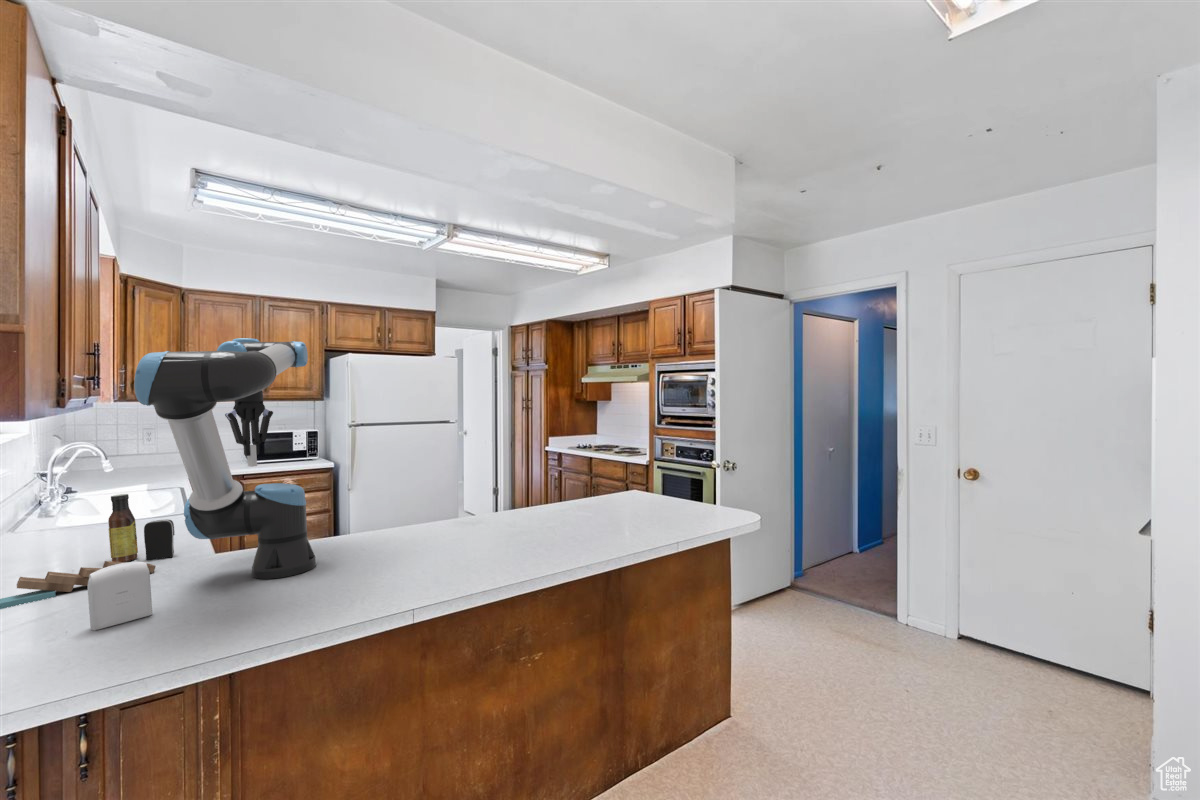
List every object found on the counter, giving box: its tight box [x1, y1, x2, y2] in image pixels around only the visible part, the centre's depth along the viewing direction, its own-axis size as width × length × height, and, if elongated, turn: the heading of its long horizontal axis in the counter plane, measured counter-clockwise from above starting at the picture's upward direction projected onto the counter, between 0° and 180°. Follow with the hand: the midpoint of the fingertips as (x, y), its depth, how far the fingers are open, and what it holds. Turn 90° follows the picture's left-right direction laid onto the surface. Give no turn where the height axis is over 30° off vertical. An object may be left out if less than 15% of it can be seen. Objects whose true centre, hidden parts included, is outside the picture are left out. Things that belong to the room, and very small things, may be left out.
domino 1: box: [0, 590, 57, 610], centre depth 136 cm, size 5×2×10 cm
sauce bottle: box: [107, 493, 139, 562], centre depth 169 cm, size 7×6×20 cm
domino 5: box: [102, 560, 156, 574], centre depth 152 cm, size 5×2×10 cm
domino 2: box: [16, 576, 75, 593], centre depth 140 cm, size 5×2×10 cm
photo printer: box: [87, 561, 153, 631], centre depth 120 cm, size 10×4×12 cm, turn 140°
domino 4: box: [77, 567, 103, 577], centre depth 148 cm, size 5×2×10 cm
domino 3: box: [44, 571, 89, 587], centre depth 143 cm, size 5×2×10 cm
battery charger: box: [143, 519, 176, 561], centre depth 170 cm, size 7×4×11 cm, turn 113°
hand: (252, 466), depth 172 cm, fingers closed
